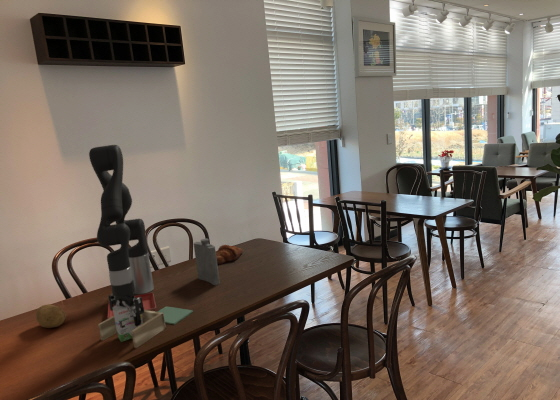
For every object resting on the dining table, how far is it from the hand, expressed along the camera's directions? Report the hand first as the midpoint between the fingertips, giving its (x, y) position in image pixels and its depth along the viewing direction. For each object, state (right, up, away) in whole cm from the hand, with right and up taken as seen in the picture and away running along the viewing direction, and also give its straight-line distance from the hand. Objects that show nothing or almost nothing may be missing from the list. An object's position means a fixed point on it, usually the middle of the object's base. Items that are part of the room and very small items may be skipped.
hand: (129, 323), depth 153 cm
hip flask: (+21, +6, +48) cm, 52 cm away
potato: (-35, -6, +15) cm, 39 cm away
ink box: (+1, -5, +1) cm, 5 cm away
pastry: (+26, +12, +78) cm, 83 cm away
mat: (+11, -1, +14) cm, 18 cm away
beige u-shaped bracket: (+1, -4, +2) cm, 5 cm away
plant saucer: (-6, -2, +22) cm, 23 cm away
